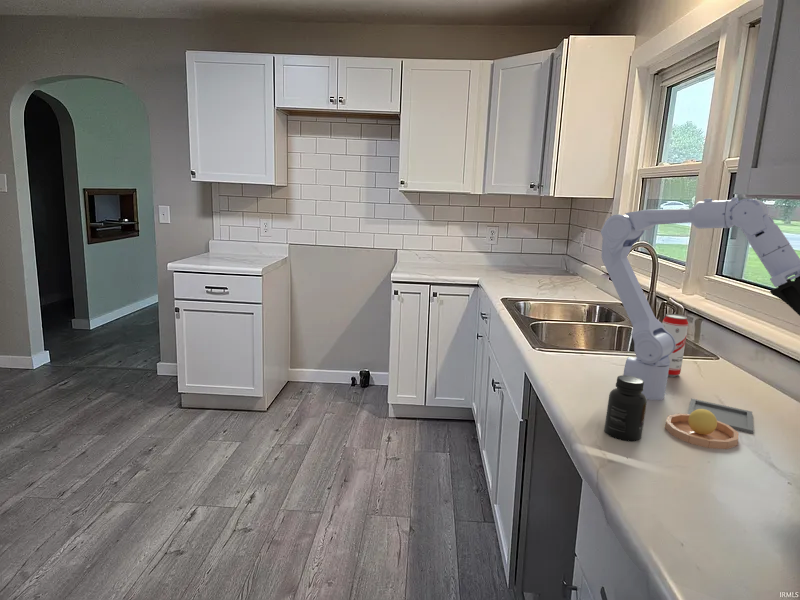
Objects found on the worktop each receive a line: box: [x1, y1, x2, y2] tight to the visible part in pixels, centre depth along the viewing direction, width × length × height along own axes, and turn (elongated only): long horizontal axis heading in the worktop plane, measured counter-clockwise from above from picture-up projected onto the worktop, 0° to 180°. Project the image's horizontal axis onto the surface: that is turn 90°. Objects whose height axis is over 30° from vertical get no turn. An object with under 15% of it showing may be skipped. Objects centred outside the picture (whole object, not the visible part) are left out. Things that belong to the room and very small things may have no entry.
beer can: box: [661, 313, 689, 378], centre depth 146 cm, size 6×6×16 cm
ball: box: [688, 409, 717, 435], centre depth 109 cm, size 5×5×5 cm
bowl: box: [664, 412, 739, 450], centre depth 109 cm, size 13×13×2 cm
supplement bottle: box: [604, 374, 648, 443], centre depth 106 cm, size 7×7×12 cm
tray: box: [686, 398, 754, 434], centre depth 119 cm, size 12×12×1 cm
